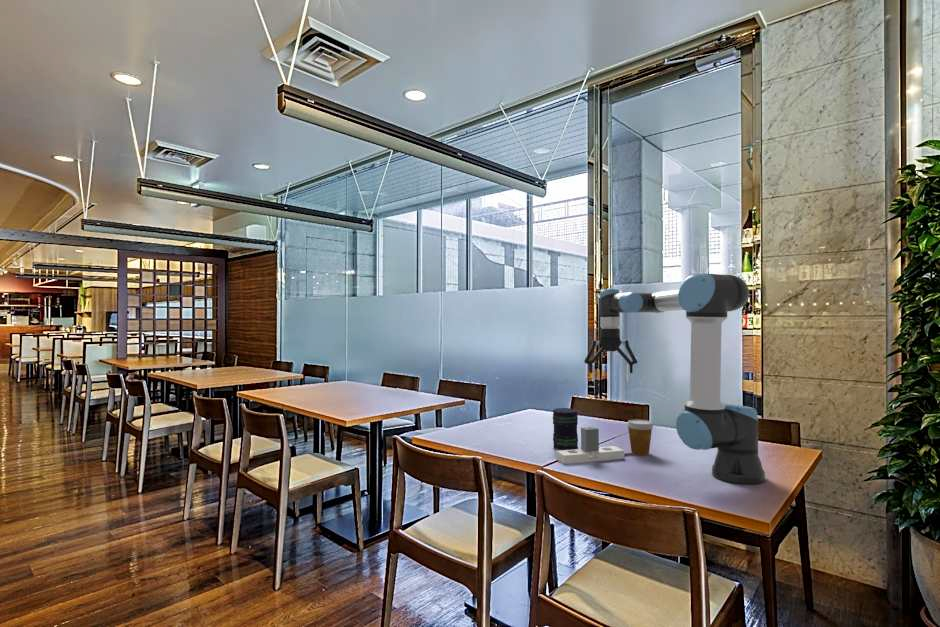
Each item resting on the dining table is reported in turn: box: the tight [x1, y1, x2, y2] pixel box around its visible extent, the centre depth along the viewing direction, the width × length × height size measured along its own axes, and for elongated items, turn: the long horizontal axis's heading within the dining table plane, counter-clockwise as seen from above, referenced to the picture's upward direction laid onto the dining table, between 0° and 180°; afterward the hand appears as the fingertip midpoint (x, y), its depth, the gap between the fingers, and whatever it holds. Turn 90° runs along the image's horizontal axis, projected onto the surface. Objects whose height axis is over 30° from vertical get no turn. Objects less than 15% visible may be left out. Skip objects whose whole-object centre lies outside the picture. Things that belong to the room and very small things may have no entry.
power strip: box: [555, 445, 635, 465], centre depth 189 cm, size 7×30×3 cm, turn 106°
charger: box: [580, 426, 600, 456], centre depth 189 cm, size 4×5×10 cm
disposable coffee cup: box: [626, 419, 654, 456], centre depth 196 cm, size 10×10×12 cm
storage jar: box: [552, 407, 579, 451], centre depth 206 cm, size 10×10×15 cm
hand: (610, 381), depth 204 cm, fingers open, 13 cm apart
